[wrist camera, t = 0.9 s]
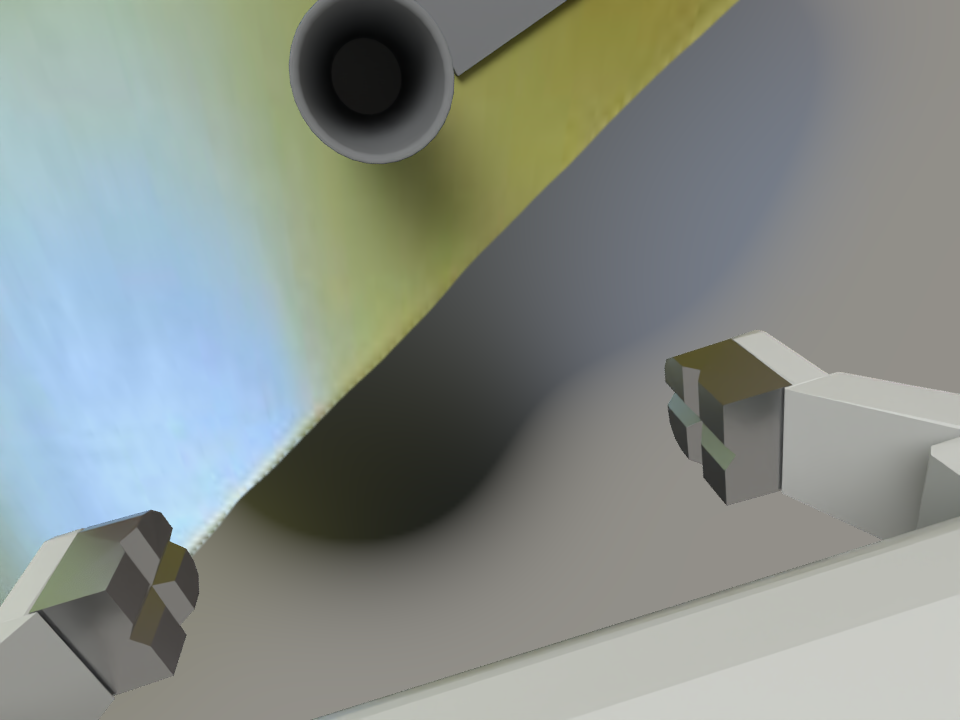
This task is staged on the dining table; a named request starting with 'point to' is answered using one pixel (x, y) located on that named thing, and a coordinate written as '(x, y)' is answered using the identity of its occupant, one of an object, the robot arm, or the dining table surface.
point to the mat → (483, 24)
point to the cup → (371, 77)
